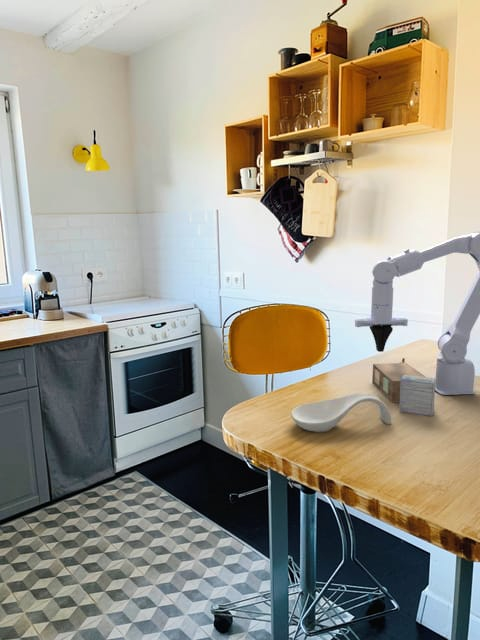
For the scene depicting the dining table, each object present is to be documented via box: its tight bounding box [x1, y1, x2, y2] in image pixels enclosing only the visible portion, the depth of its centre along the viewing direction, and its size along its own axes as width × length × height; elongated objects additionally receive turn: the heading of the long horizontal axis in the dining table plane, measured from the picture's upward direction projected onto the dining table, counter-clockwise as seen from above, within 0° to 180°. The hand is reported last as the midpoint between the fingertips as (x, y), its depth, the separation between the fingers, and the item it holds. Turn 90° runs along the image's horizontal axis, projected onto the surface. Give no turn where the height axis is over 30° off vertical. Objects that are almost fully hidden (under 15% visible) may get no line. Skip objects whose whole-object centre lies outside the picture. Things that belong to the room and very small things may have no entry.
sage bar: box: [383, 377, 390, 394], centre depth 134 cm, size 9×4×4 cm, turn 93°
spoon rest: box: [290, 392, 392, 433], centre depth 116 cm, size 24×12×7 cm, turn 101°
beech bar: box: [375, 370, 381, 386], centre depth 141 cm, size 9×4×4 cm, turn 94°
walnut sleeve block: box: [371, 362, 426, 403], centre depth 138 cm, size 10×16×6 cm, turn 3°
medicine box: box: [398, 375, 436, 417], centre depth 123 cm, size 8×4×9 cm, turn 65°
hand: (379, 350), depth 141 cm, fingers closed
